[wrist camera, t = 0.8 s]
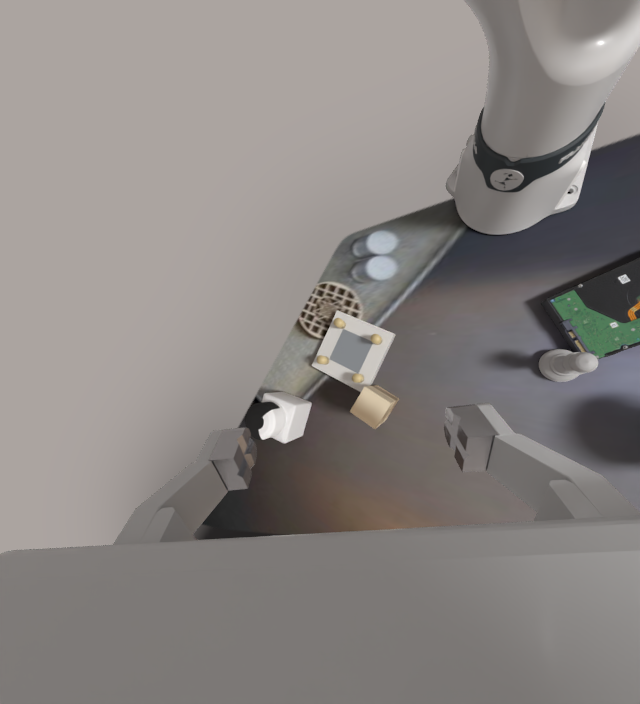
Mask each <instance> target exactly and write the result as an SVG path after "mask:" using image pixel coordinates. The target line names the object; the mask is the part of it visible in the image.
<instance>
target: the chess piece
mask: <svg viewBox="0 0 640 704" xmlns="http://www.w3.org/2000/svg"><path fill="white" fill-rule="evenodd" d="M597 366H598V360H597V358H596V357H595V356H594V355H593V354H590V353H587V352H571V351H568V350H563V349H554V350H550V351H548V352H546V353H545V354H544V355H542V357H541V358H540V361H539V369H540V371H541V373H542V374H543V375H544V376H545V377H546V378H548V379H550V380H552V381H556V382H565V381H569V380H572V379H574V378H576V377H577V376H578V375H579V374H584V373H588V372H592V371H594V370H595V369H596V368H597Z"/></svg>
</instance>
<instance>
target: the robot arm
mask: <svg viewBox="0 0 640 704" xmlns="http://www.w3.org/2000/svg"><path fill="white" fill-rule="evenodd" d="M465 2H466V3H467V4H468V6H469V7H470V8H471V9H472V11H473V13H474V14H475V16H476V17H477V19H478V21H479V23H480V25H481V27H482V29H483V31H484V34H485V37H486V40H487V44H488V49H489V59H490V61H489V75H488V84H487V92H486V100H485V105H484V108H483V109H482V111H481V113H480V116H479V119H478V123H477V125H476V128H475V133H474V135H471V136H470V137H469V139H468V141H467V147H466V148H465V149H463V151H462V153H461V157H460V162H459V164H458V165H457V167H456V168H455V170H454V171H453V172H452V174H451V175H450V177H449V178H448V180H447V183H446V189H447V190H448V192H449V193H450V194H451V195H452V196H453V197H454V199H455V203H456V208H457V211H458V214H459V216H460V217H461V219H462V220H463V221H464V222H465V224H467V225H468V226H469V227H471V228H472V229H474V230H476V231H479V232H482V233H486V234H494V235H501V234H510V233H514V232H518V231H521V230H524V229H526V228H528V227H530V226H532V225H534V224H536V223H537V222H539V221H540V220H542V219H543V218H545V217H547V216H549V215H551V214H555V213H559V212H562V211H565V210H568V209H570V208H572V207H573V206H574V205H575V204H576V202H577V200H578V198H579V194H580V191H581V187H582V183H583V179H584V175H585V171H586V167H587V164H588V160H589V156H590V152H591V148H592V144H593V140H594V137H595V133H596V128H597V125H598V121H599V118H600V116H601V114H602V112H603V109H604V105H605V101H606V99H607V98H608V96H609V95H610V93H611V91H612V90H613V88H614V86H615V85H616V83H617V82H618V80H619V78H620V77H621V75H622V73H623V72H624V70H625V69H626V67H627V65H628V64H629V62H630V61H631V59H632V57H633V56H634V54H635V52H636V51H637V49H638V48H639V46H640V0H465ZM568 192H571V194H567V193H568ZM445 415H446V417H447V419H448V420H447V421H446V422H445V424H444V431H445V437H446V440H447V443H448V445H449V447H450V448H452V449H453V450H455V459H456V461H457V463H458V465H459V467H460V468H461V470H462V472H475V471H487V473H488V474H490V475H491V476H492V477H493V478H495V479H496V480H497V481H498V482H500V483H501V484H502V485H503V486H505V487H506V488H507V489H508V490H510V491H511V492H512V493H513V494H515V495H516V496H517V497H518V498H520V499H521V500H522V501H523V502H525V503H526V504H527V505H528V506H530V507H531V508H532V509H533V510H535V511H536V512H537V514H536V517H535V519H534V521H528V522H511V523H493V524H475V525H457V526H440V527H422V528H405V529H387V530H370V531H352V532H335V533H317V534H299V535H281V536H266V537H265V536H264V537H246V538H229V539H211V540H197V539H196V537H195V536H194V535H193V534H194V532H195V531H196V530H197V529H198V527H199V526H200V525H201V524H202V523H203V521H204V520H205V519H206V518H207V517H208V515H209V514H210V513H211V512H212V510H213V509H214V508H215V507H216V506H217V504H218V503H219V502H220V501H221V499H222V498H223V497H224V496H225V495H226V493H227V492H228V490H238V489H247V488H248V486H249V482H250V479H251V475H252V472H251V470H250V468H251V467H252V466H253V465H254V464H255V461H256V455H257V450H256V445H255V442H254V441H253V440H252V439H250V436H251V432H250V430H249V428H235V429H224V430H214V431H212V432H211V433H210V435H209V437H208V439H207V441H206V442H205V444H204V447H203V448H202V450H201V452H200V454H199V456H198V458H197V460H196V462H193V463H191V464H190V465H188V466H187V467H186V468H185V469H183V470H182V471H181V472H180V473H179V474H177V475H176V476H175V477H174V478H173V479H171V480H170V481H169V482H168V483H167V484H165V485H164V486H163V487H162V488H160V489H159V490H158V491H157V492H156V493H154V494H153V495H152V496H151V497H149V498H148V499H147V500H146V501H144V502H143V503H142V504H141V505H140V506H138V507H137V508H136V509H135V511H134V512H133V514H132V515H131V517H130V518H129V520H128V522H127V523H126V525H125V526H124V528H123V530H122V531H121V533H120V534H119V536H118V537H117V539H116V541H115V542H114V544H113V545H105V546H104V545H103V546H85V547H67V548H52V549H51V548H50V549H33V550H32V549H29V550H13V551H7V552H4V553H1V554H0V704H640V512H639V511H638V510H637V509H636V508H635V507H634V506H633V505H632V504H631V503H630V502H629V501H628V500H627V499H626V498H625V497H624V496H623V495H622V494H621V493H620V492H619V491H618V490H617V489H616V488H615V487H614V486H613V485H612V484H611V483H609V482H608V481H607V480H606V479H605V478H604V477H603V476H602V475H600V474H598V473H596V472H594V471H592V470H590V469H588V468H586V467H584V466H582V465H580V464H578V463H576V462H574V461H572V460H570V459H568V458H567V457H565V456H563V455H561V454H559V453H557V452H555V451H553V450H551V449H549V448H547V447H545V446H543V445H541V444H539V443H537V442H535V441H533V440H531V439H529V438H527V437H525V436H523V435H521V434H515V433H514V432H513V431H512V429H511V428H510V427H509V426H508V425H507V423H506V422H505V421H504V420H503V419H502V417H501V416H500V415H499V414H498V413H497V411H496V410H495V409H494V408H493V407H492V405H491V404H489V403H481V404H474V405H464V406H454V407H447V409H446V413H445Z"/></svg>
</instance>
